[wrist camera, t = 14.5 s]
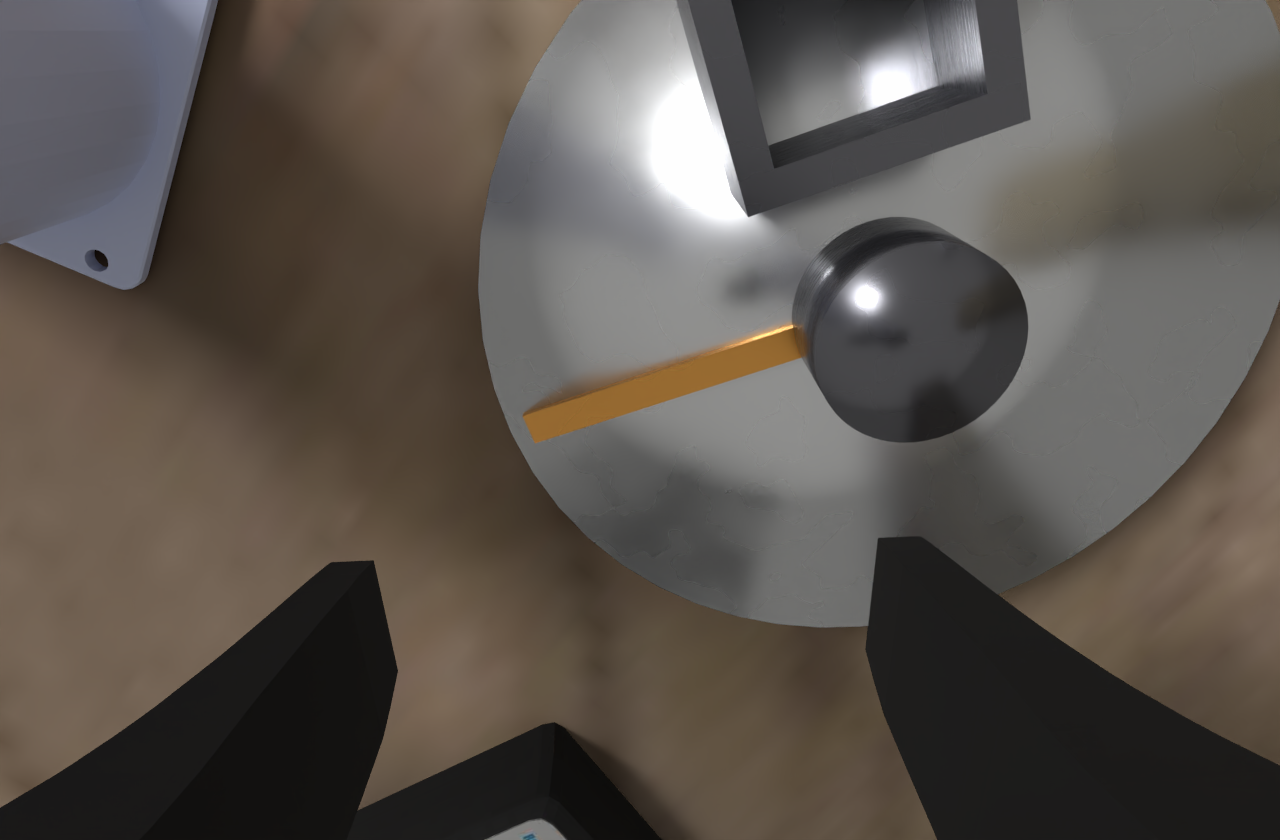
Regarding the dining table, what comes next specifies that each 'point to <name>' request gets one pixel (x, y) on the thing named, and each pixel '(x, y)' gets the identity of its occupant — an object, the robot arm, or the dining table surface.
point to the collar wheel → (877, 278)
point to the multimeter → (509, 798)
